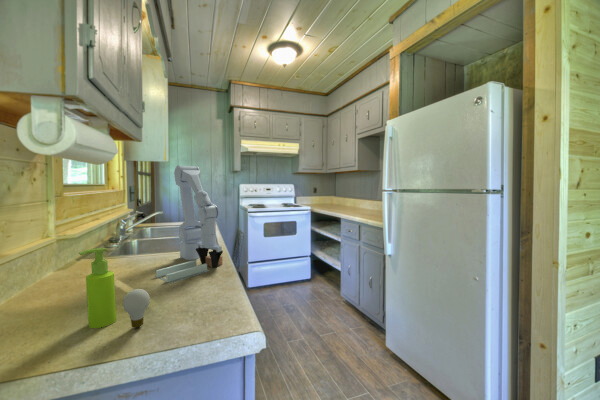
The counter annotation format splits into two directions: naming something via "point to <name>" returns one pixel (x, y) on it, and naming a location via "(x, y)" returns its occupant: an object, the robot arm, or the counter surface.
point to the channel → (181, 271)
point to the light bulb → (136, 306)
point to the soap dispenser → (100, 291)
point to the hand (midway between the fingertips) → (209, 265)
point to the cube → (208, 261)
